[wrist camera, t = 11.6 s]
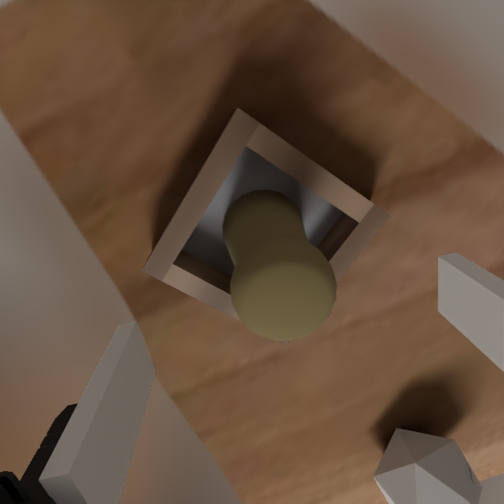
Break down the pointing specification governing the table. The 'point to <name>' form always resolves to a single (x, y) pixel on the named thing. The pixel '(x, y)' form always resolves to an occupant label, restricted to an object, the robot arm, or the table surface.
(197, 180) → the wooden tray
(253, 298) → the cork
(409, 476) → the die
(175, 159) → the table surface
